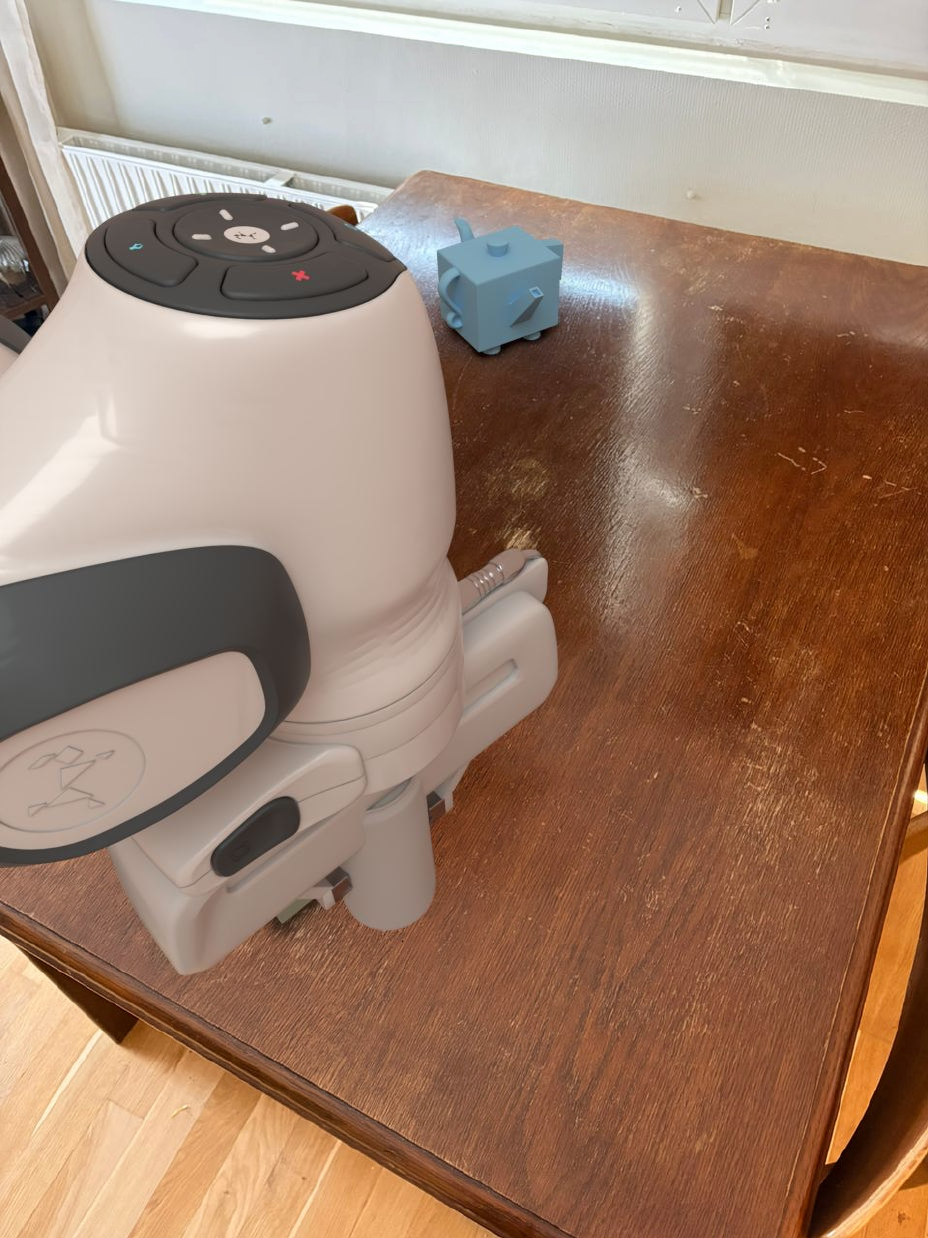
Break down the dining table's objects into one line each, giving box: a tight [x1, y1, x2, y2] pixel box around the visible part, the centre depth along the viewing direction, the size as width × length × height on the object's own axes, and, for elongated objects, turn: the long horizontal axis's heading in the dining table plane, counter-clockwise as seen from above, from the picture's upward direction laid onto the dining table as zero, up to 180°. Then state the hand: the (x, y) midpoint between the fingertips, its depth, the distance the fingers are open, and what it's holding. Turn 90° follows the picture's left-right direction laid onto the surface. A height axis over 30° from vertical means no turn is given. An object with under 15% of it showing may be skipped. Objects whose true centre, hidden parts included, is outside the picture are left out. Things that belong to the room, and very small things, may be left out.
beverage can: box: [339, 774, 437, 932], centre depth 41 cm, size 5×5×12 cm
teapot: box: [436, 217, 565, 355], centre depth 103 cm, size 16×18×11 cm
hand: (380, 848), depth 42 cm, fingers closed on beverage can, 5 cm apart
